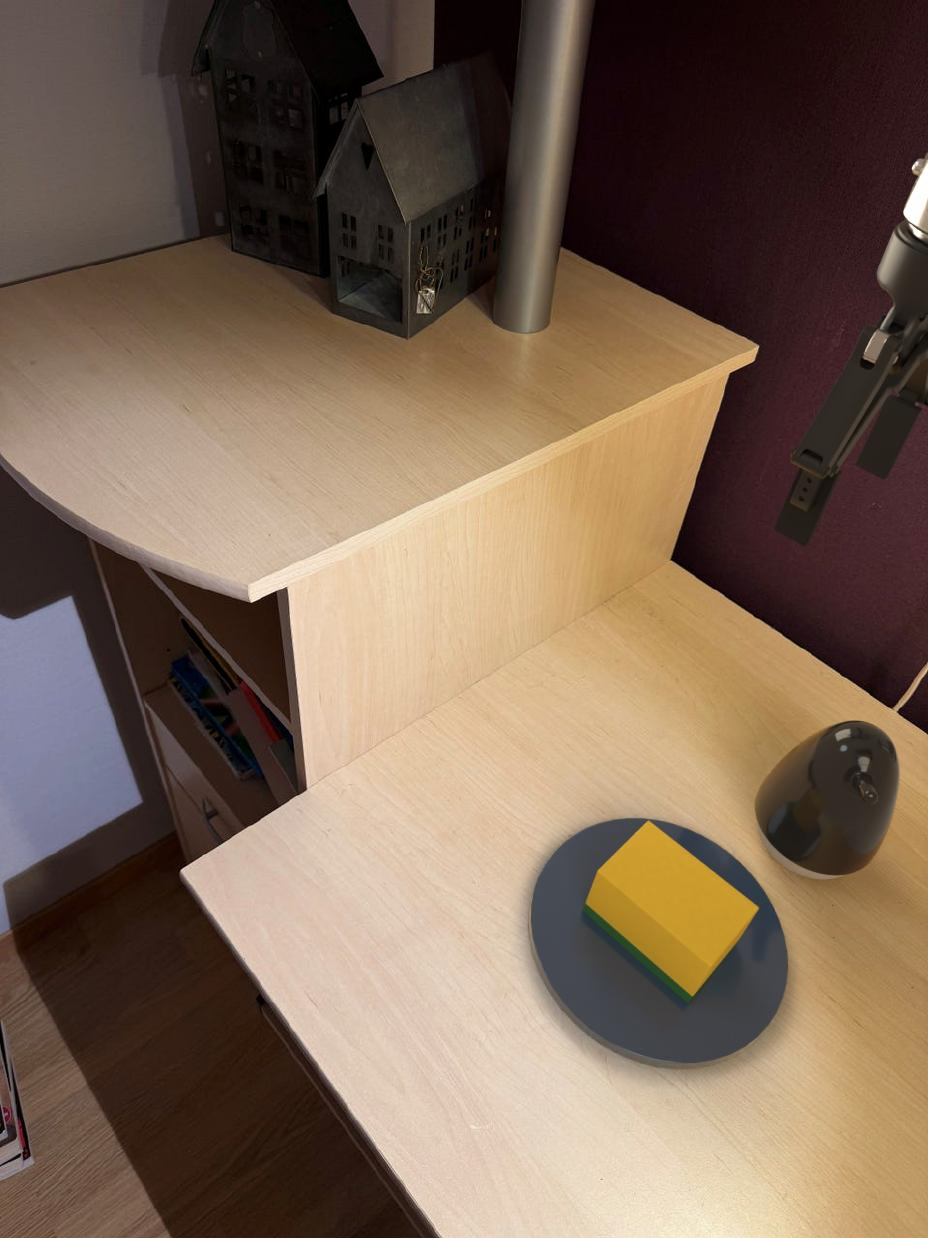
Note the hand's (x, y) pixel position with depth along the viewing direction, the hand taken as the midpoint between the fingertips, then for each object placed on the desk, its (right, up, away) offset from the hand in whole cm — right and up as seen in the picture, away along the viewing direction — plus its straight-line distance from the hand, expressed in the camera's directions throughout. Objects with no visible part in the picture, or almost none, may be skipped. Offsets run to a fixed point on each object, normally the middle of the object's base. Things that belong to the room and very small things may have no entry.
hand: (833, 502), depth 72 cm
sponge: (-14, -33, -2) cm, 36 cm away
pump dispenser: (0, -29, +6) cm, 30 cm away
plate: (-14, -34, -1) cm, 37 cm away
